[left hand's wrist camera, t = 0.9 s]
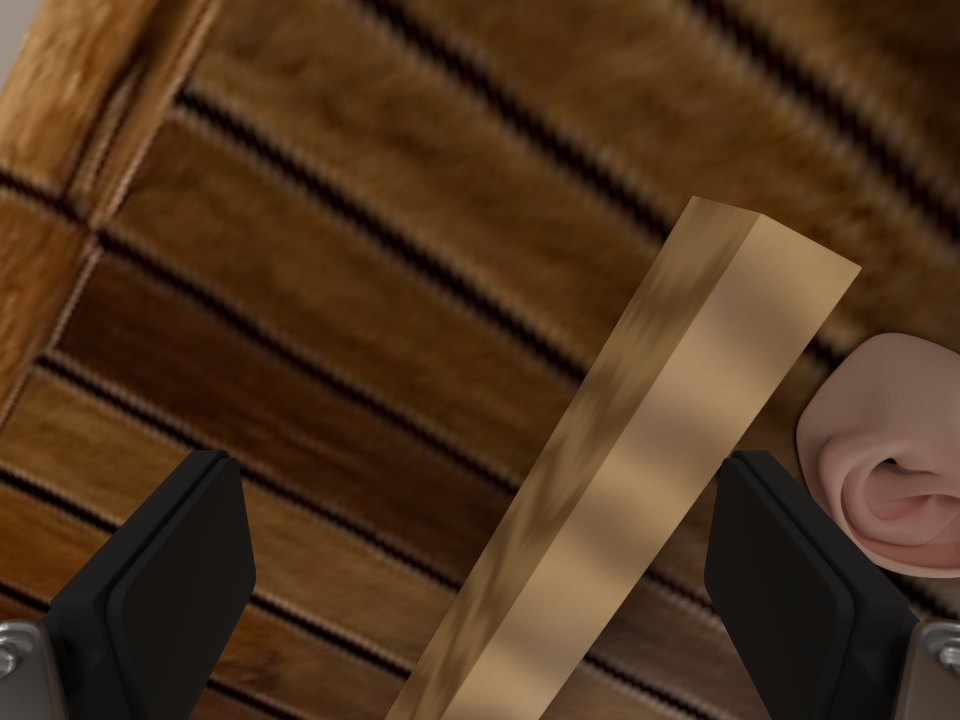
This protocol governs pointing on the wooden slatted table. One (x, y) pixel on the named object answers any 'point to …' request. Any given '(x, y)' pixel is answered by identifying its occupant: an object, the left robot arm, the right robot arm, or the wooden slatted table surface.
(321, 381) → the wooden slatted table surface
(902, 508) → the anatomical model
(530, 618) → the bar
